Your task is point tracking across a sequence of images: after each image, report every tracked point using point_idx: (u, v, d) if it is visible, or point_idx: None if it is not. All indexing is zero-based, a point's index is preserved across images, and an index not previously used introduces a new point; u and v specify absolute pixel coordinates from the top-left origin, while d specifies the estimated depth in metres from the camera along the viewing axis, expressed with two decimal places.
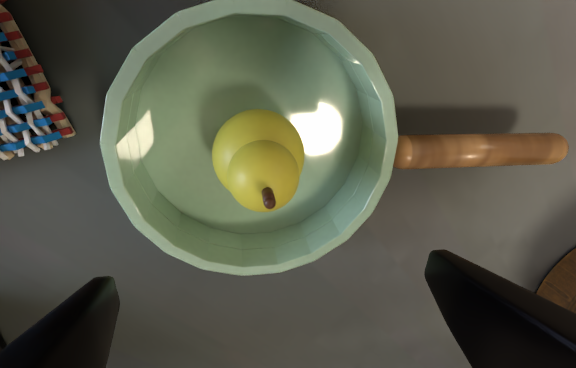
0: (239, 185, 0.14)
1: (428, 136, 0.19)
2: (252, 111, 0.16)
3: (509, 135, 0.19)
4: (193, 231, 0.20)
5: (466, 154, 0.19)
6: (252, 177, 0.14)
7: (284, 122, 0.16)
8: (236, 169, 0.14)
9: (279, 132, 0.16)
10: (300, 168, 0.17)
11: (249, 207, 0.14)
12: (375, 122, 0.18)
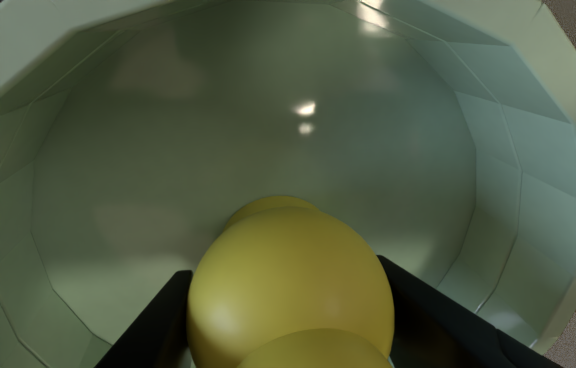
0: None
1: None
2: (279, 228, 0.07)
3: None
4: None
5: None
6: None
7: (357, 255, 0.07)
8: None
9: (352, 295, 0.06)
10: (389, 351, 0.07)
11: None
12: (534, 226, 0.09)
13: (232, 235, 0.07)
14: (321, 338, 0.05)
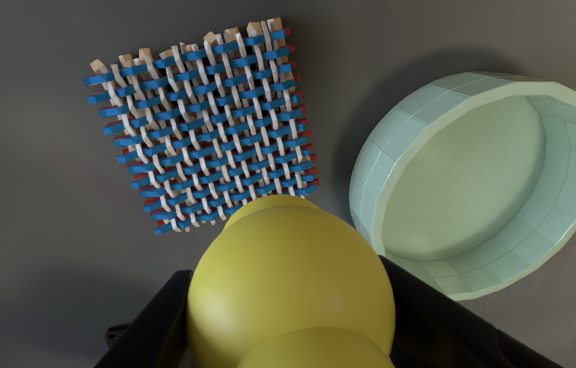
0: None
1: None
2: (280, 226, 0.07)
3: None
4: (395, 263, 0.23)
5: None
6: None
7: (358, 253, 0.07)
8: None
9: (353, 293, 0.06)
10: (390, 350, 0.07)
11: None
12: (575, 171, 0.21)
13: (232, 233, 0.07)
14: (322, 336, 0.05)
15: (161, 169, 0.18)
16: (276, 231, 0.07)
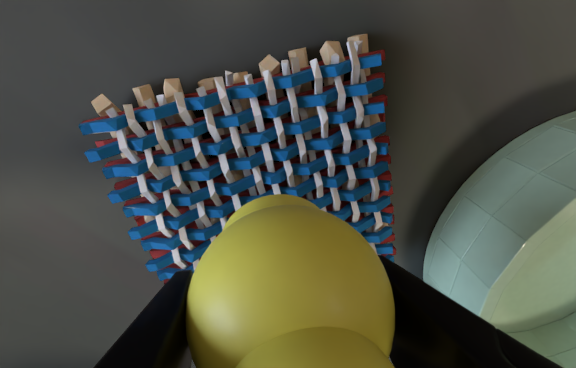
0: None
1: None
2: (280, 226, 0.07)
3: None
4: None
5: None
6: None
7: (357, 253, 0.07)
8: None
9: (352, 293, 0.06)
10: (389, 350, 0.07)
11: None
12: None
13: (232, 233, 0.07)
14: (322, 336, 0.05)
15: (190, 245, 0.12)
16: (276, 231, 0.07)
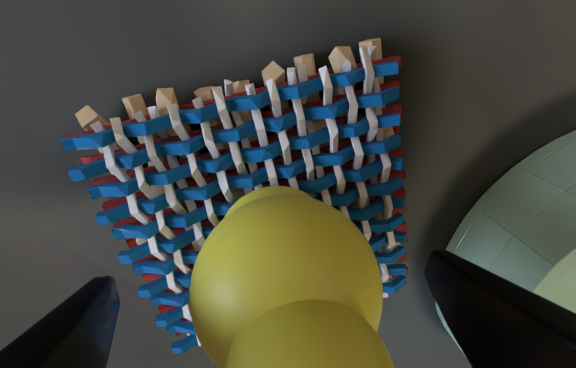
0: None
1: None
2: (276, 211, 0.07)
3: None
4: None
5: None
6: None
7: (347, 236, 0.07)
8: None
9: (342, 271, 0.07)
10: (377, 327, 0.08)
11: None
12: None
13: (233, 219, 0.08)
14: (313, 307, 0.06)
15: (185, 269, 0.11)
16: (272, 216, 0.07)
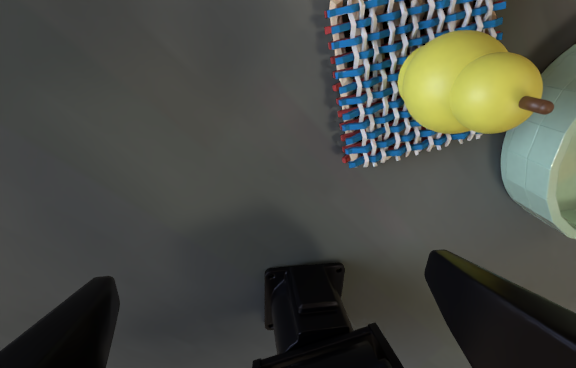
0: (490, 96, 0.13)
1: None
2: (463, 30, 0.15)
3: None
4: None
5: None
6: (511, 84, 0.12)
7: None
8: (487, 78, 0.13)
9: (503, 49, 0.14)
10: None
11: (489, 124, 0.13)
12: None
13: (437, 38, 0.15)
14: None
15: (370, 102, 0.19)
16: (463, 31, 0.15)
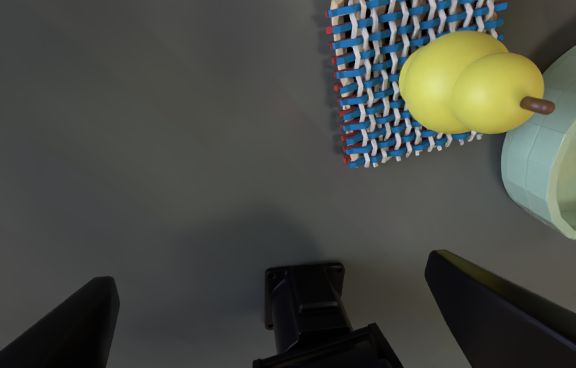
0: (491, 96, 0.13)
1: None
2: (464, 30, 0.15)
3: None
4: None
5: None
6: (512, 84, 0.12)
7: None
8: (488, 79, 0.13)
9: (504, 49, 0.14)
10: None
11: (491, 124, 0.13)
12: None
13: (438, 38, 0.15)
14: None
15: (371, 102, 0.19)
16: (464, 31, 0.15)
